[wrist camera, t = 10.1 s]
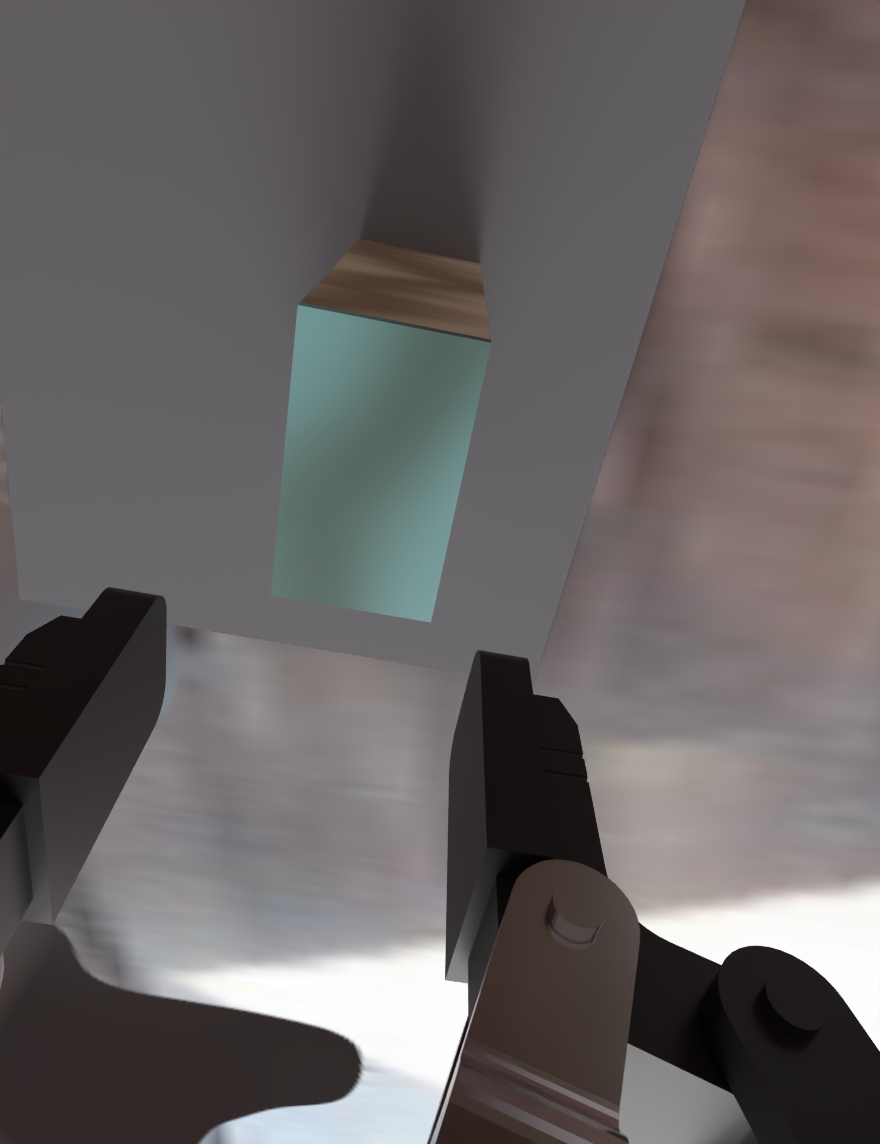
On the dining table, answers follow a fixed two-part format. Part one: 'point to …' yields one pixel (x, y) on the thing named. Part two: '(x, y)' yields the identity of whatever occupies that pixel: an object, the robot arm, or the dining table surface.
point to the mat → (304, 256)
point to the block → (379, 429)
